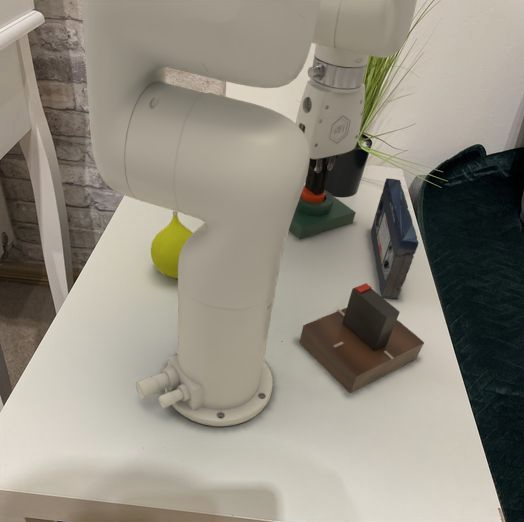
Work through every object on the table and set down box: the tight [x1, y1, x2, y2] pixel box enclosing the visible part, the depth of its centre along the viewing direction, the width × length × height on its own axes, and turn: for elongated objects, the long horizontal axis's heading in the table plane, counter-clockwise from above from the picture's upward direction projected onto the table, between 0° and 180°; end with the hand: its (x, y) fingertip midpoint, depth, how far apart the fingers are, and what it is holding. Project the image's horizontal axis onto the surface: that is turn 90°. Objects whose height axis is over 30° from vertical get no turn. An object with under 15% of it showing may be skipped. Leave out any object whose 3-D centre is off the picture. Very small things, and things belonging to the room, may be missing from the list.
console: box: [299, 307, 425, 394], centre depth 67 cm, size 12×10×3 cm
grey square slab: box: [343, 282, 401, 351], centre depth 64 cm, size 6×2×6 cm, turn 35°
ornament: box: [150, 210, 194, 279], centre depth 72 cm, size 7×7×10 cm
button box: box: [288, 189, 356, 240], centre depth 89 cm, size 12×10×4 cm
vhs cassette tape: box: [370, 177, 419, 300], centre depth 80 cm, size 18×3×10 cm, turn 175°
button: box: [301, 185, 325, 203], centre depth 88 cm, size 4×4×2 cm
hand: (314, 190), depth 87 cm, fingers closed
